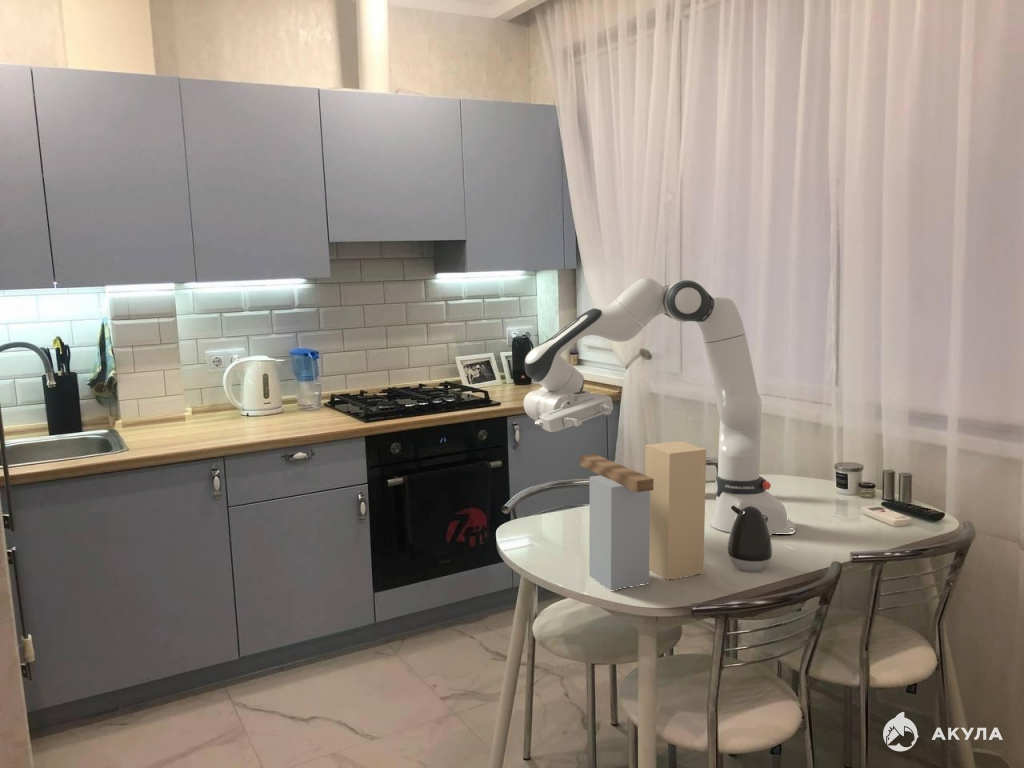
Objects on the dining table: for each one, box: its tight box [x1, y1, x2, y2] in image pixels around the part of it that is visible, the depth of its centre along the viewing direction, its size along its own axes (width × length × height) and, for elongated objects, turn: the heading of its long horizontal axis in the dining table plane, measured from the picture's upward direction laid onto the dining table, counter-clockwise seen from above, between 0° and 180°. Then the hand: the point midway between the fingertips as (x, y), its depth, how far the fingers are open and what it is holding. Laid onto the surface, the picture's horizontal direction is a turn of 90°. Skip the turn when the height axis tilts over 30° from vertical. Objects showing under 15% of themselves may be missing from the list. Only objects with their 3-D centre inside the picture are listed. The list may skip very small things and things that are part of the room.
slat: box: [579, 453, 653, 492], centre depth 187 cm, size 26×4×2 cm, turn 23°
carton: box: [644, 440, 707, 581], centre depth 192 cm, size 10×10×30 cm
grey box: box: [588, 474, 650, 591], centre depth 187 cm, size 10×10×24 cm
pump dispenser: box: [727, 505, 773, 573], centre depth 194 cm, size 10×10×15 cm
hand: (594, 416), depth 205 cm, fingers open, 8 cm apart
